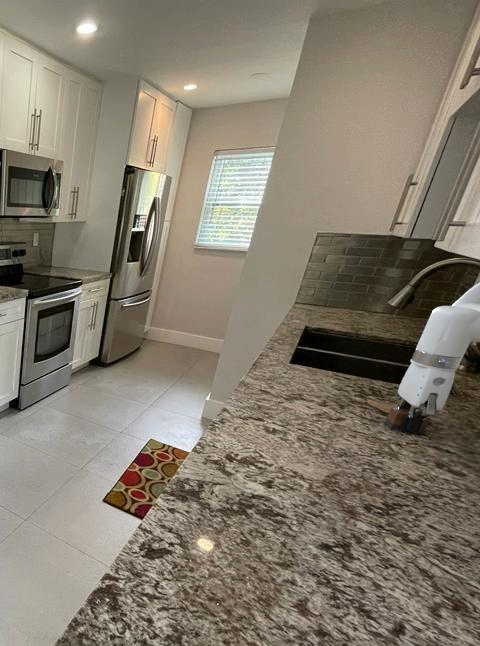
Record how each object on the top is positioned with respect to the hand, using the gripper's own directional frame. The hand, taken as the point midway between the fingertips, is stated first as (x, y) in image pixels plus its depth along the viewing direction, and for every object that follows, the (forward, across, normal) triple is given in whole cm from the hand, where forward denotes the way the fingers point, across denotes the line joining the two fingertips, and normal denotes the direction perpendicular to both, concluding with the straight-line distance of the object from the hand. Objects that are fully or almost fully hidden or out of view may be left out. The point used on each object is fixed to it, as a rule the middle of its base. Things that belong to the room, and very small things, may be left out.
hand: (403, 427), depth 102 cm
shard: (0, +9, -2) cm, 9 cm away
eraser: (0, 0, 0) cm, 0 cm away
